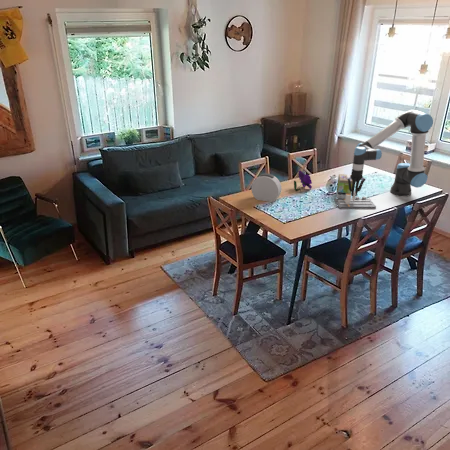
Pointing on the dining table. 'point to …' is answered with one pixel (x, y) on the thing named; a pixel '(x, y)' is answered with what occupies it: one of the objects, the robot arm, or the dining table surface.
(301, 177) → the flower
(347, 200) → the fader
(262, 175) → the alarm clock
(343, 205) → the console
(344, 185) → the tea box
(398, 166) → the robot arm
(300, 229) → the dining table surface
